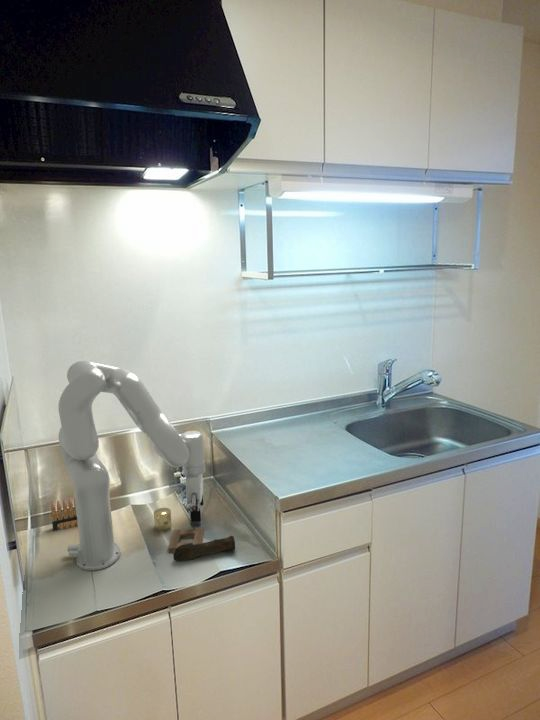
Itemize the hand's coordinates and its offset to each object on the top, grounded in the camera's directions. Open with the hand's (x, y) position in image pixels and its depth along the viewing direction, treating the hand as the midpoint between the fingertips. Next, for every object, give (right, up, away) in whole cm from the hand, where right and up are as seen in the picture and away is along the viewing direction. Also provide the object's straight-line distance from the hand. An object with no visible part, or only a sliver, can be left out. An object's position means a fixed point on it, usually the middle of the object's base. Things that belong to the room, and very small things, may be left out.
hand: (197, 512), depth 157 cm
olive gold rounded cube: (-11, -5, -2) cm, 12 cm away
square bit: (0, -4, +1) cm, 4 cm away
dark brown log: (+10, -10, -14) cm, 21 cm away
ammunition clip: (-43, -6, -2) cm, 44 cm away
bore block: (-2, -6, -10) cm, 12 cm away
